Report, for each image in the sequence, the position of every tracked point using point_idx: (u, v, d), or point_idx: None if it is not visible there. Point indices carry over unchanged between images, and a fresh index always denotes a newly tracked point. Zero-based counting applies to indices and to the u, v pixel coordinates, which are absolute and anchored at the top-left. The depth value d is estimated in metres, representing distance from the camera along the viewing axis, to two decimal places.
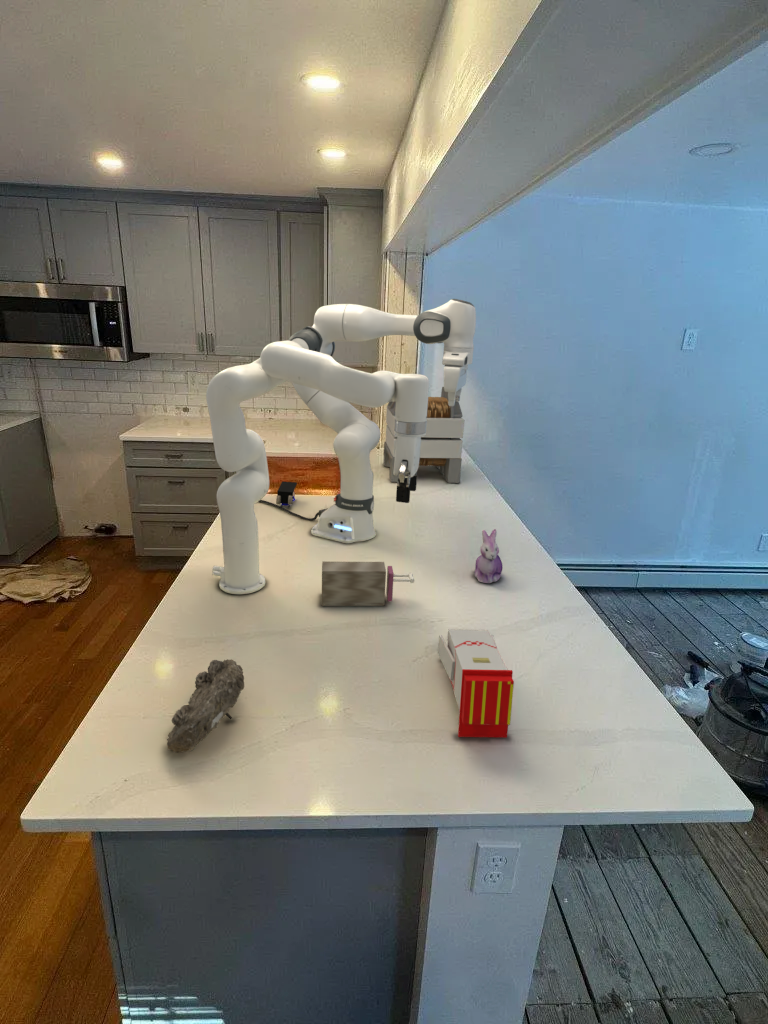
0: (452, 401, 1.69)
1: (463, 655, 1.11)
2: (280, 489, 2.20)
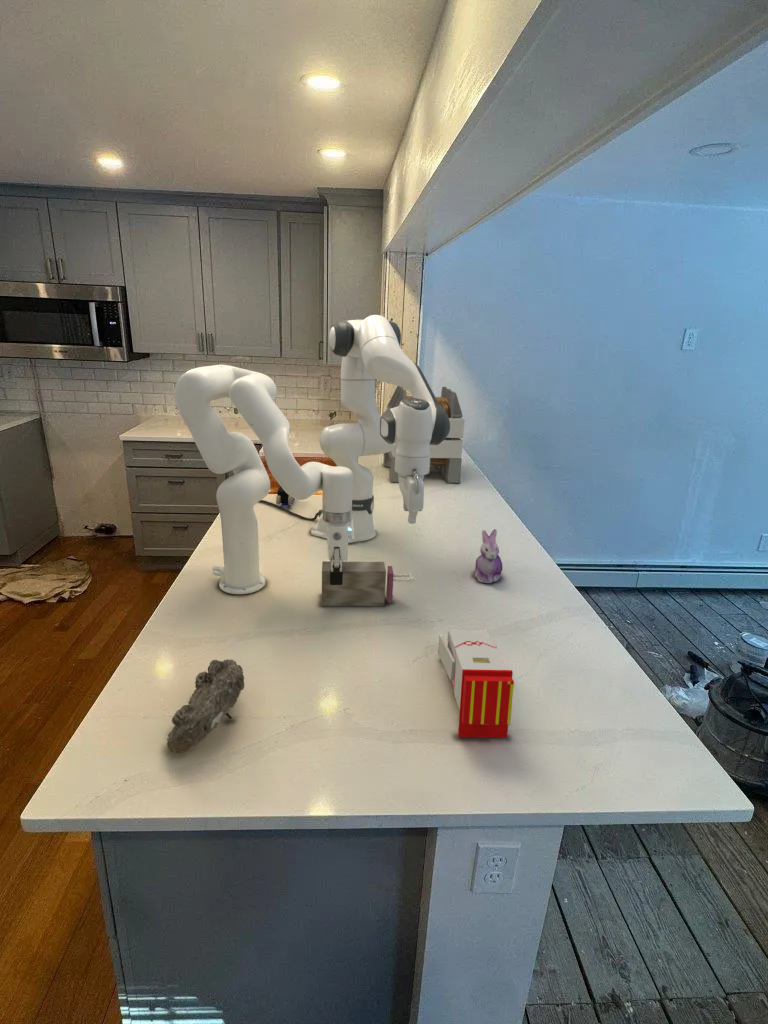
0: None
1: (463, 655, 1.11)
2: (280, 489, 2.20)
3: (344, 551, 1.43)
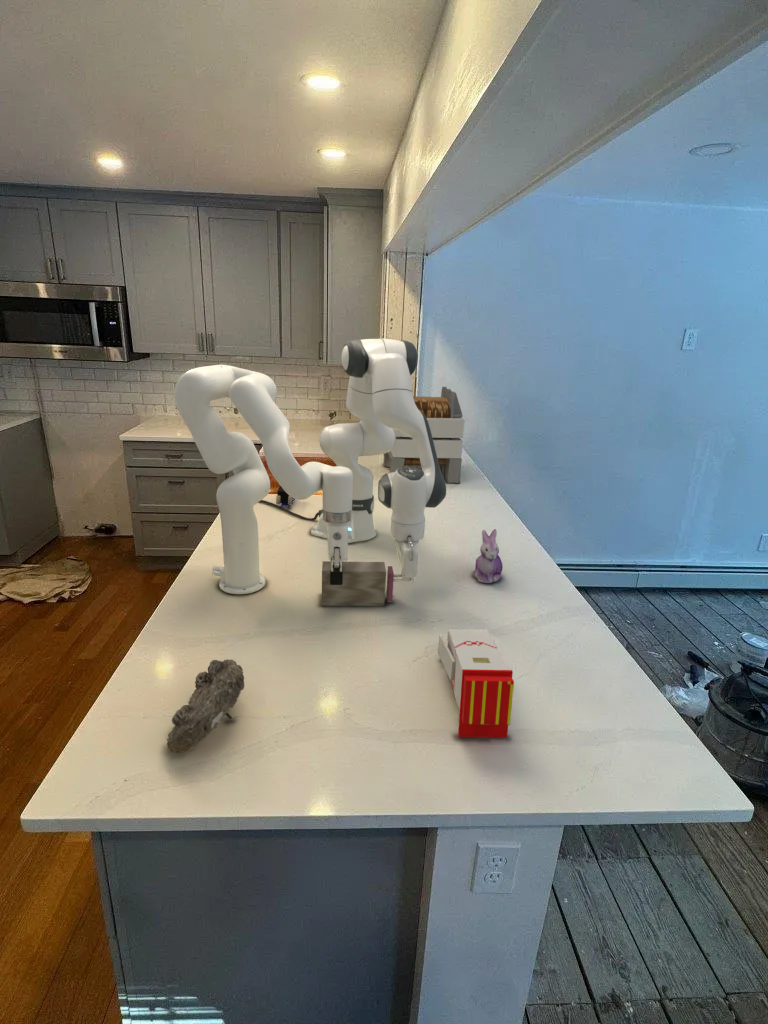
0: None
1: (463, 655, 1.11)
2: (280, 489, 2.20)
3: (344, 551, 1.43)
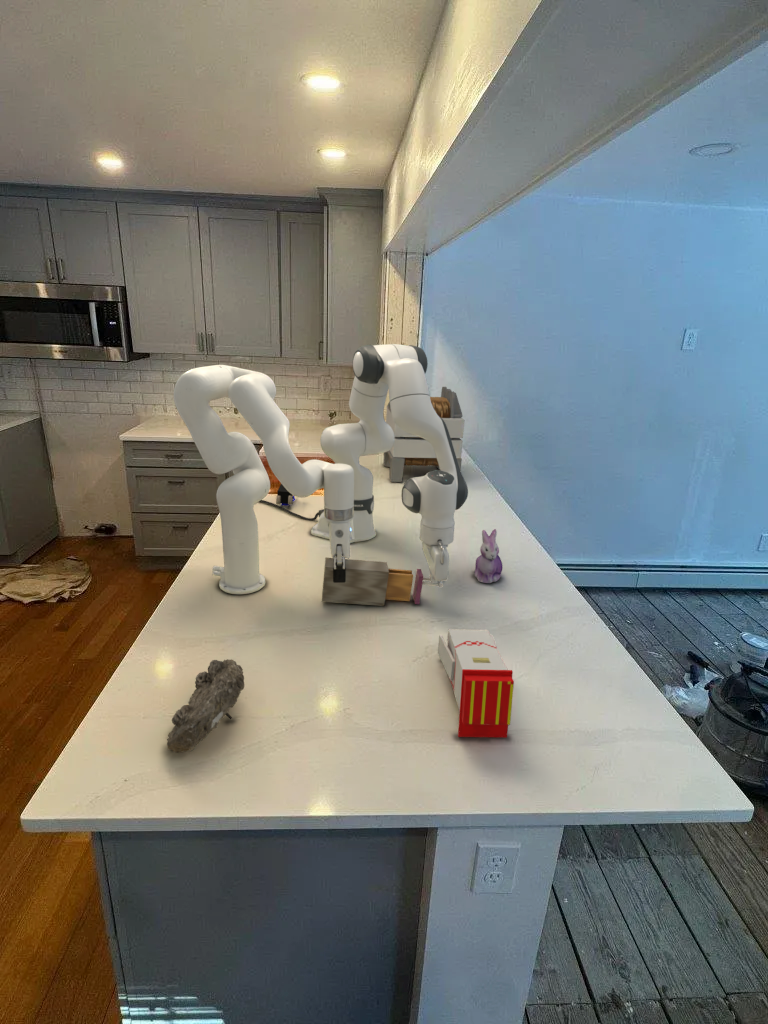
0: None
1: (463, 655, 1.11)
2: (280, 489, 2.20)
3: (347, 548, 1.43)
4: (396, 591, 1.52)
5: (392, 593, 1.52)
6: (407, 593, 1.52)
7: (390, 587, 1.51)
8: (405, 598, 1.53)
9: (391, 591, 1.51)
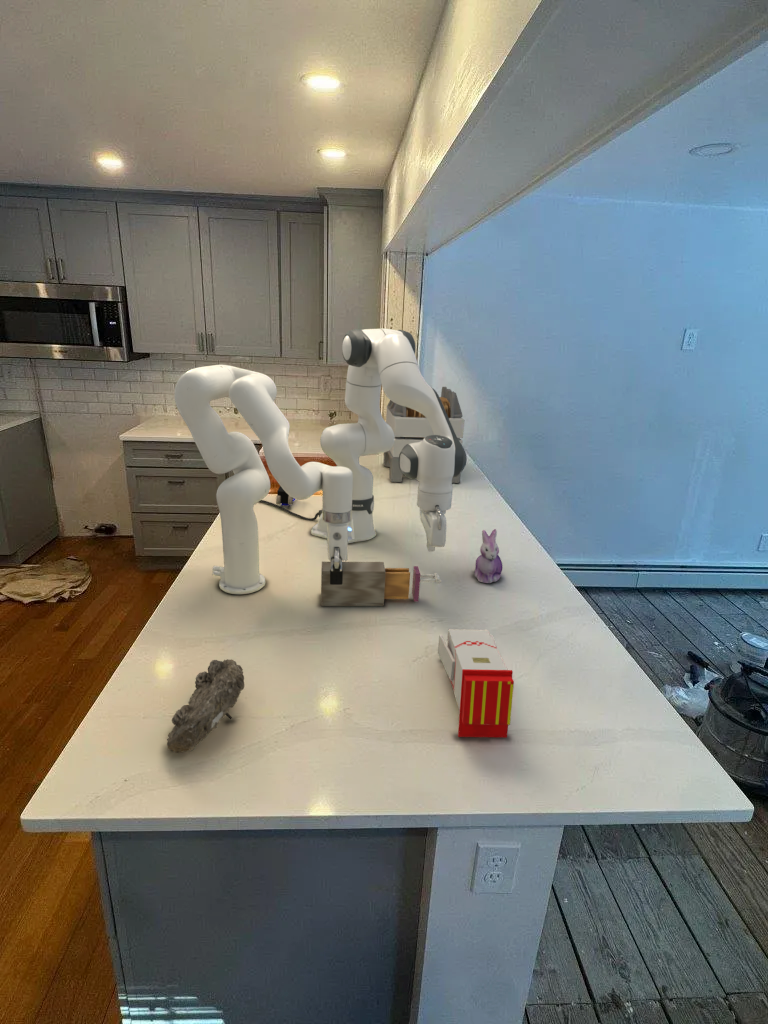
0: None
1: (463, 655, 1.11)
2: (280, 489, 2.20)
3: (344, 551, 1.43)
4: (394, 590, 1.51)
5: (391, 592, 1.52)
6: (405, 591, 1.52)
7: (388, 586, 1.51)
8: (404, 596, 1.52)
9: (389, 590, 1.51)
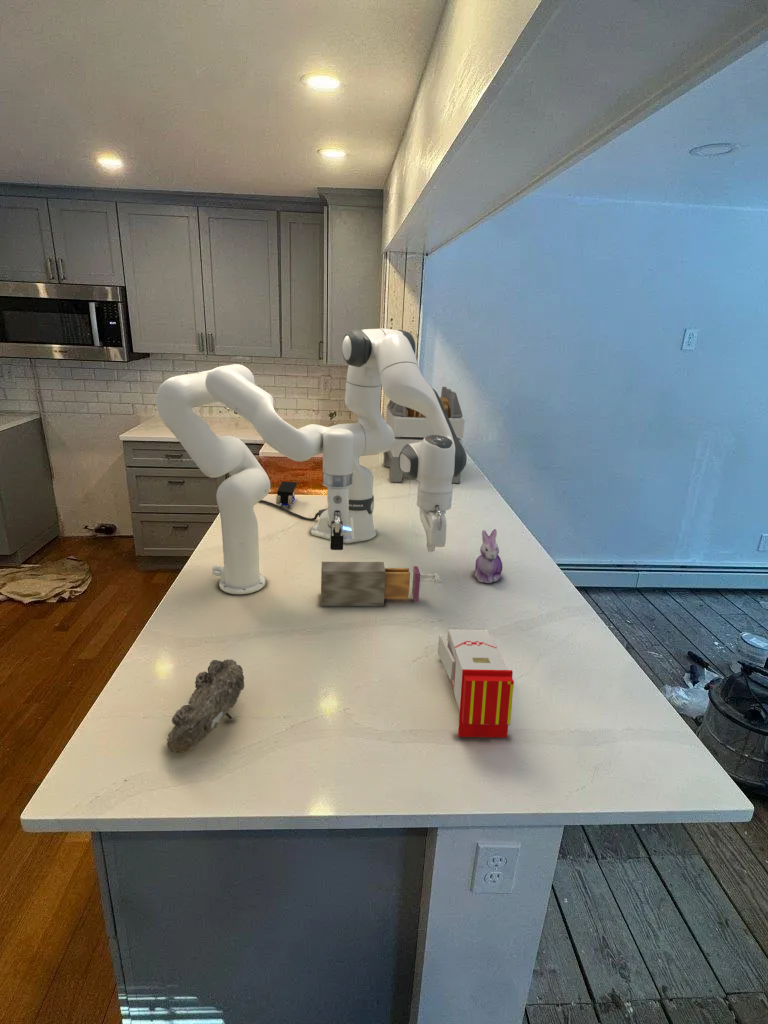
0: None
1: (463, 655, 1.11)
2: (280, 489, 2.20)
3: (345, 515, 1.40)
4: (394, 590, 1.51)
5: (391, 592, 1.52)
6: (405, 591, 1.52)
7: (388, 586, 1.51)
8: (404, 596, 1.52)
9: (389, 590, 1.51)
